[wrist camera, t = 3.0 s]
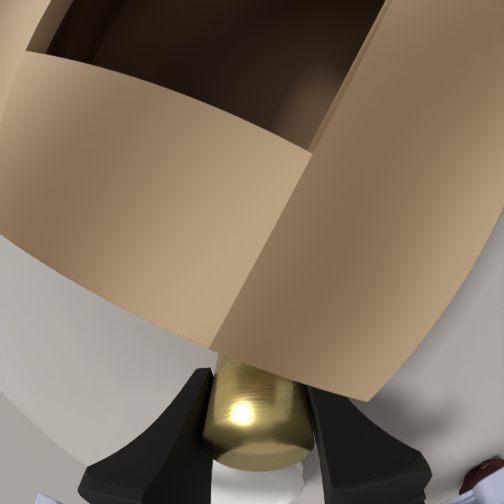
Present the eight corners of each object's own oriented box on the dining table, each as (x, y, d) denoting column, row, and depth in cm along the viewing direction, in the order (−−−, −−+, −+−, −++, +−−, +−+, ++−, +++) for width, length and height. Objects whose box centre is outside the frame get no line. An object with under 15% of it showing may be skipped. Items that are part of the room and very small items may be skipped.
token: (317, 343, 13) (337, 431, 8) (276, 395, 14) (278, 478, 9) (239, 311, 12) (227, 402, 8) (206, 370, 14) (187, 454, 9)
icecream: (445, 525, 14) (471, 515, 18) (514, 499, 10) (519, 494, 14) (441, 469, 19) (468, 475, 24) (505, 440, 16) (513, 453, 20)
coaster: (197, 484, 19) (191, 517, 16) (122, 416, 16) (105, 457, 13) (316, 468, 17) (321, 506, 14) (270, 390, 14) (271, 445, 11)
